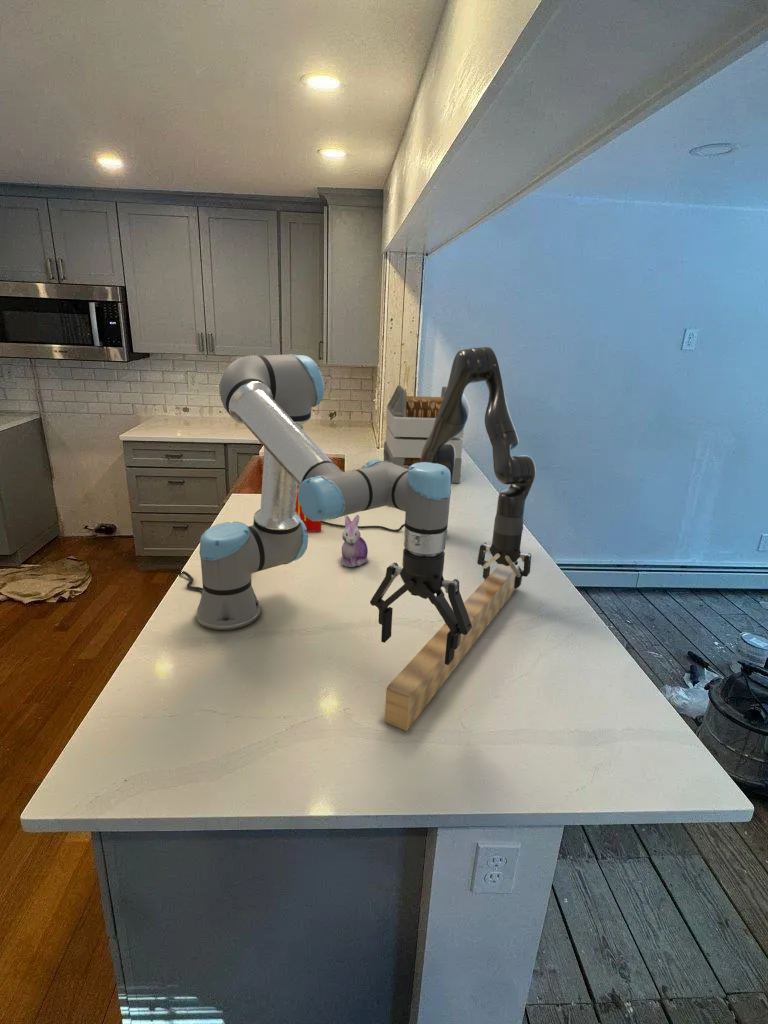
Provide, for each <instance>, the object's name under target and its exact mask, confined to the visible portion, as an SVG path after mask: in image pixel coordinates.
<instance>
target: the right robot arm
mask: <svg viewBox="0 0 768 1024" xmlns="http://www.w3.org/2000/svg"><path fill="white" fill-rule="evenodd" d="M480 382H484V383H485V384H486V386H487V389H488V401H487V406H486V409H485V413H484V426H485V431H486V433H487V436H488V439H489V441H490V445H491V448H492V462H493V472H494V476H495V477H496V479H497V481H498V482H499V483H500V484H503V485H509V486H508V488H506V489H504V490H502V491H501V492H500V493H499V494H498V498H497V504H496V505H497V506H496V512H495V517H494V523H493V531H492V540H491V545H489V544H487V542H483V543H482V544H481V545H480V546H479V549H478V556H477V562H476V563H477V565H479V566H481V567H482V569H483V570H482V578H483V581H485V580H486V578H487V577H488V576H489V575H490V574H491V565H492V564H494V563H496V564H497V565H499V564H503V565H505V566H510V567H511V568H512V570H513V571H514V572H515V574H516V576H515V583H514V589H515V590H517V589H518V588H520V587H521V585H522V580H523V577H525V578H527V577H528V576H529V574H531V568H532V567H531V565H532V553H530V552H527V553H522V552H521V544H522V536H523V531H524V513H525V507H526V500H527V498H528V496H529V493H530V491H531V489H532V485H533V484H534V480H535V477H536V475H537V469H536V463H535V461H534V459H533V458H532V457H531V456H529V455H524V454H521V455H513V456H512V454H511V450H514V449H515V448H516V447H517V446H518V445H519V442H520V440H519V436H518V433H517V430H516V427H515V426H514V422H513V420H512V417H511V413H510V410H509V407H508V402H507V399H506V393H505V387H504V382H503V378H502V373H501V367H500V363H499V359H498V357H497V354H496V352H495V350H494V349H493V348H492V347H490V346H487V345H485V346H474V347H467V348H463V349H459V350H458V351H457V352H456V354H455V356H454V358H453V361H452V364H451V368H450V374H449V378H448V382H447V386H446V387H447V389H446V392H445V395H444V398H443V401H442V403H441V405H440V408H439V411H438V413H437V416H436V420H435V423H434V426H433V428H432V431H431V433H430V435H429V437H428V439H427V441H426V443H425V445H424V447H423V450H422V453H421V462H430V463H434V464H441V465H444V466H446V467H447V468H448V469H449V471H450V474H451V486H452V484H453V483H452V479H453V471H454V464H455V449H454V446H453V445H452V444H450V443H446V442H448V441H450V440H451V439H453V438H454V437H455V436H457V435H458V434H459V433H460V432H461V431H462V430H463V429H465V427H466V424H467V423H468V420H469V418H470V415H471V407H470V403H469V401H468V399H467V397H466V395H465V390H466V388H467V387H468V385H470V384H475V383H480ZM450 504H451V499H450V500H449V506H450ZM449 514H450V507H449V508H448V517H447V528H448V525H449V517H450V516H449ZM321 524H323V525H328V526H332V527H335V528H344V529H345V524H337V523H333V522H328V521H325V520H322V521H321ZM357 527H358V529H381V530H385V531H388V532H393V533H397V532H400V531H402V529H403V528H405V523H403V524H401V525H400V526H399V528H396V529H393V528H388V527H386V526H382V525H358V526H357ZM447 538H448V531H447V532H446V539H447ZM487 552H489V553H490V554H491V557H490V559H488V560H485V558H486V553H487ZM519 559H521V561H522V562H523V569H522V567H521V563H520V561H519Z"/></svg>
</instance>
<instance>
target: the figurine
mask: <svg viewBox="0 0 768 1024" xmlns="http://www.w3.org/2000/svg"><path fill="white" fill-rule="evenodd" d="M359 523H360V515H359V514H356V515H355V516H354V517H353V519H352V521H351V519H350V517H349V515H345V516H344V525H345V528H344V529H343V531H342V534H341V538H342V539H343V543H342V545H341V559H340V561H341V565H342V566H344V567H348V568H354V567H357V566H358V567H359V566H362V565H363V564H365V563H366V562H367V559H368V553H369V549H368V545H367V542H366V541H365V540H364V538H363V537H361V532H360V530H359V528H358V527H357V526H359Z"/></svg>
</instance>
